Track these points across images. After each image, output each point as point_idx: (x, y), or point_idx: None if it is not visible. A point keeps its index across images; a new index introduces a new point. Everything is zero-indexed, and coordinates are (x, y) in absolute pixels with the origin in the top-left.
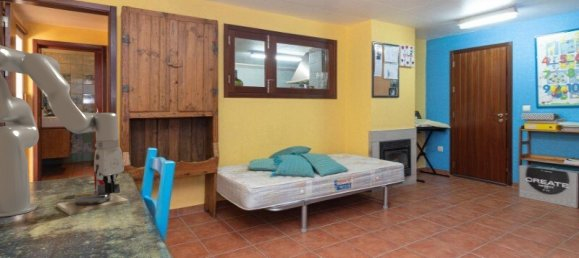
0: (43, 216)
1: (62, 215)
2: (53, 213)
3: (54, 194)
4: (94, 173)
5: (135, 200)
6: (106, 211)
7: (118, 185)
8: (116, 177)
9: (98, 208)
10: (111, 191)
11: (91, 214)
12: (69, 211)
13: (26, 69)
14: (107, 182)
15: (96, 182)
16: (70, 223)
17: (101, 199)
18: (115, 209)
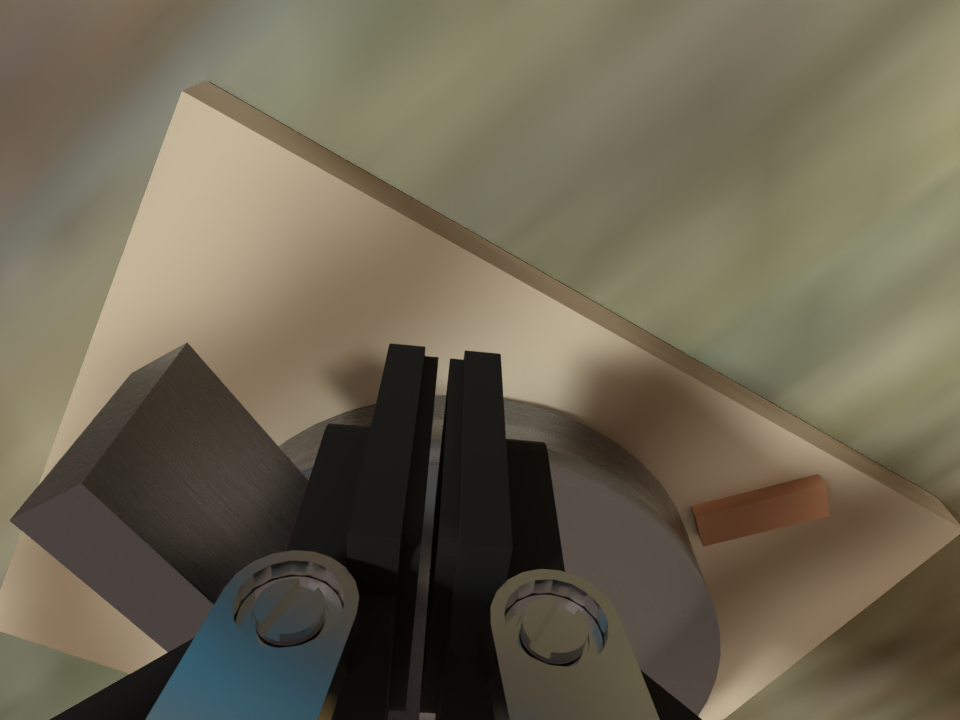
0: (924, 694)
1: (920, 566)
2: (823, 684)
3: None
4: None
5: (6, 45)
6: (792, 111)
7: (118, 472)
8: (89, 709)
9: (661, 345)
10: (500, 372)
11: (943, 248)
12: (939, 544)
13: None
14: (598, 638)
15: None
16: None
17: (552, 447)
18: (665, 19)
